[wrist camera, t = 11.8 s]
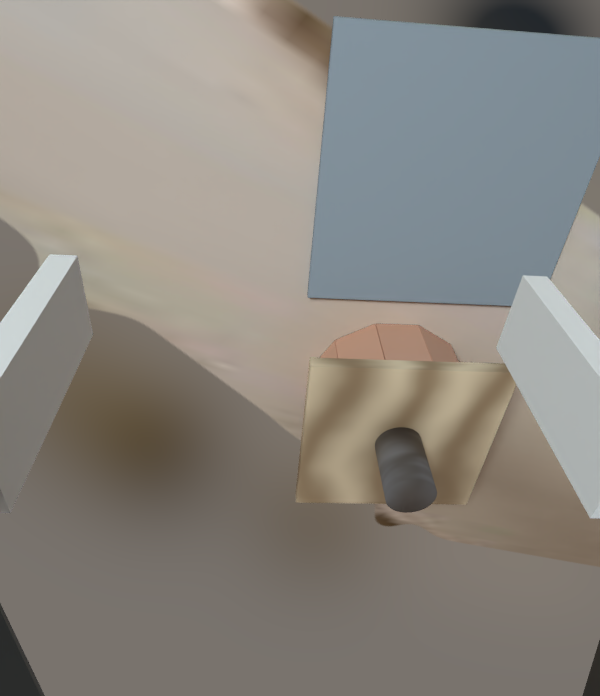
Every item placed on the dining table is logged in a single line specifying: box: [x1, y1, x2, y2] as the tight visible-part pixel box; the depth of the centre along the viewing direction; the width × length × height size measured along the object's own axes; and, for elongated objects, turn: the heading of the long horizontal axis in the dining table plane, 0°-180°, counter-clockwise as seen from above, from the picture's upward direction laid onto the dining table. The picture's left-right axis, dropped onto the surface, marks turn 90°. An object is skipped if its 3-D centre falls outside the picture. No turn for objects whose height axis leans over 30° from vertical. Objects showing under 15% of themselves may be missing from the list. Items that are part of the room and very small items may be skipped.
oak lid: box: [296, 357, 516, 512], centre depth 48 cm, size 18×18×7 cm
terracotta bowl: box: [320, 324, 458, 362], centre depth 54 cm, size 16×16×7 cm
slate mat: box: [308, 16, 600, 306], centre depth 43 cm, size 22×22×1 cm
